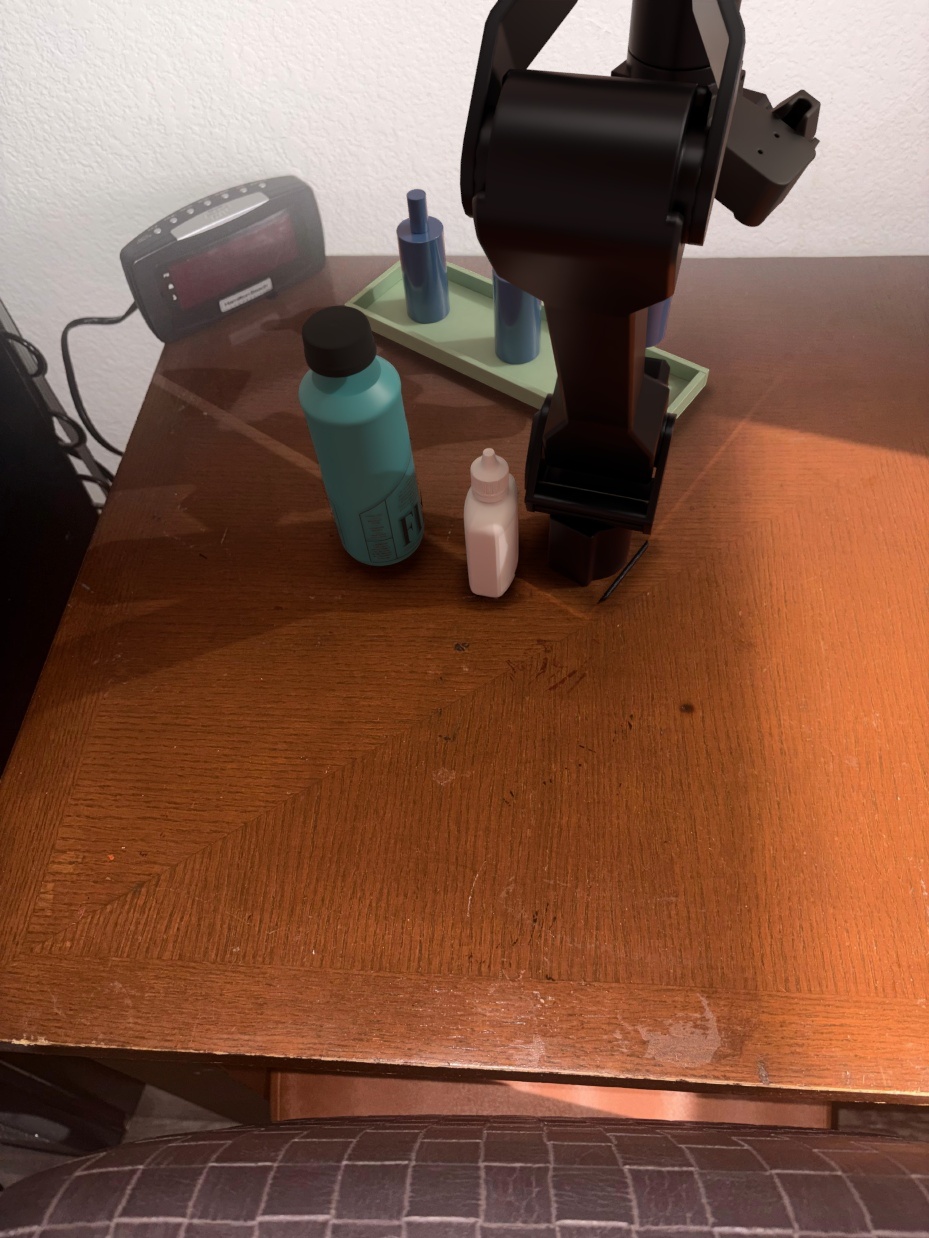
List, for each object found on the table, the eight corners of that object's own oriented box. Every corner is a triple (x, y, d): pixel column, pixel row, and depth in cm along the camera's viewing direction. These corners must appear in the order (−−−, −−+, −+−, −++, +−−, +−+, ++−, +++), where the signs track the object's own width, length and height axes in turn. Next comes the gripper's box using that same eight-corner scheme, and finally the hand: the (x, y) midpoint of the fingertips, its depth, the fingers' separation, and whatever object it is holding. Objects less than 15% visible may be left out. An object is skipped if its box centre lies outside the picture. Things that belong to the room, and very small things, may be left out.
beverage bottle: (417, 586, 62) (378, 368, 45) (330, 574, 63) (260, 356, 46) (437, 518, 65) (407, 291, 48) (354, 508, 66) (297, 283, 49)
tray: (641, 465, 67) (645, 444, 65) (347, 325, 78) (343, 304, 76) (704, 391, 71) (709, 369, 69) (416, 269, 82) (414, 247, 81)
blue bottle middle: (523, 370, 72) (523, 254, 63) (485, 353, 74) (480, 237, 65) (549, 345, 74) (553, 228, 65) (512, 329, 76) (510, 212, 66)
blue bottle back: (431, 329, 76) (419, 213, 67) (397, 314, 78) (381, 198, 68) (458, 305, 78) (450, 189, 69) (425, 291, 79) (412, 175, 70)
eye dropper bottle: (541, 560, 62) (545, 443, 52) (490, 608, 60) (484, 495, 50) (497, 530, 64) (492, 411, 54) (446, 576, 62) (431, 461, 52)
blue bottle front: (647, 356, 61) (672, 213, 52) (601, 335, 63) (616, 193, 54) (675, 326, 63) (704, 182, 54) (629, 307, 64) (649, 163, 55)
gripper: (729, 166, 40) (678, 412, 53) (890, 12, 48) (811, 261, 61) (537, 105, 44) (533, 347, 57) (712, -28, 52) (674, 213, 65)
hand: (645, 290), depth 60 cm, fingers closed on blue bottle front, 4 cm apart
